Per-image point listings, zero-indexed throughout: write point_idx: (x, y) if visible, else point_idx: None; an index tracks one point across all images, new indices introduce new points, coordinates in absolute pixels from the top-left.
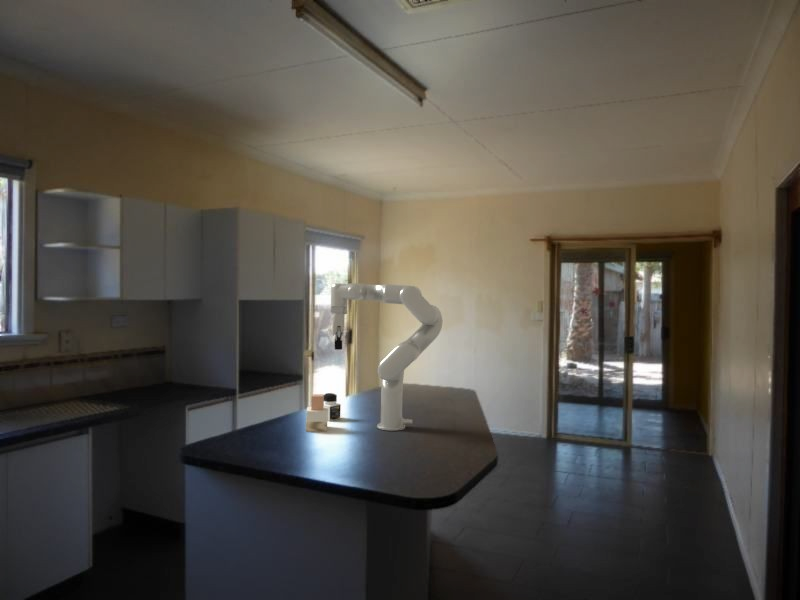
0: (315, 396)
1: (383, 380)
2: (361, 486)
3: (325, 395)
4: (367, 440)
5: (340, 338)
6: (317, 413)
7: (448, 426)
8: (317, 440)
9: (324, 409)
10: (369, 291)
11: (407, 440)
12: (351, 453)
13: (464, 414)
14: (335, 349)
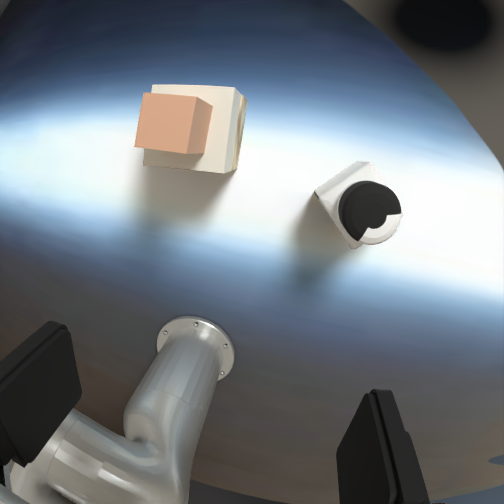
0: (140, 110)
1: (145, 428)
2: None
3: (360, 187)
4: (79, 255)
5: None
6: None
7: (200, 448)
8: (87, 129)
9: (174, 154)
10: None
11: (84, 338)
12: (7, 201)
13: (302, 493)
14: (54, 324)
